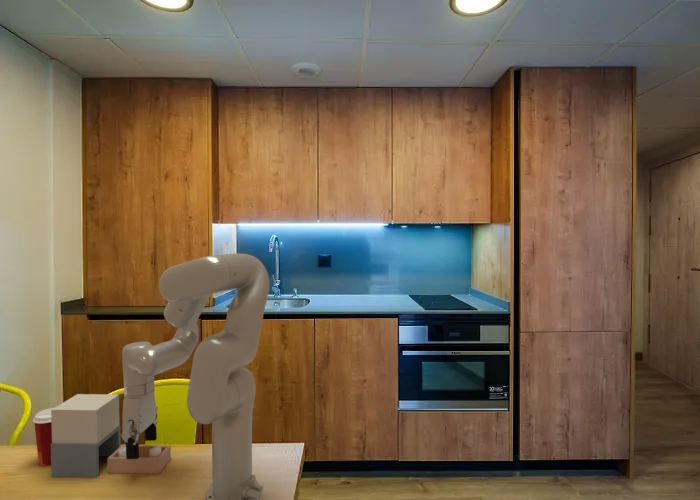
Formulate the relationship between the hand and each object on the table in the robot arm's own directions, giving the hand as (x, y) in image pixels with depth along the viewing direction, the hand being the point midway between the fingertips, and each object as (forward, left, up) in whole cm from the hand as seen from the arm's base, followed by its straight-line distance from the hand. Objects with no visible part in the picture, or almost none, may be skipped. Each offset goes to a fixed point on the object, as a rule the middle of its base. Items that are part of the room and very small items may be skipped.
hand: (142, 449), depth 114 cm
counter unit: (+14, +7, -5) cm, 16 cm away
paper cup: (+25, +10, -5) cm, 28 cm away
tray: (+1, 0, -5) cm, 5 cm away
